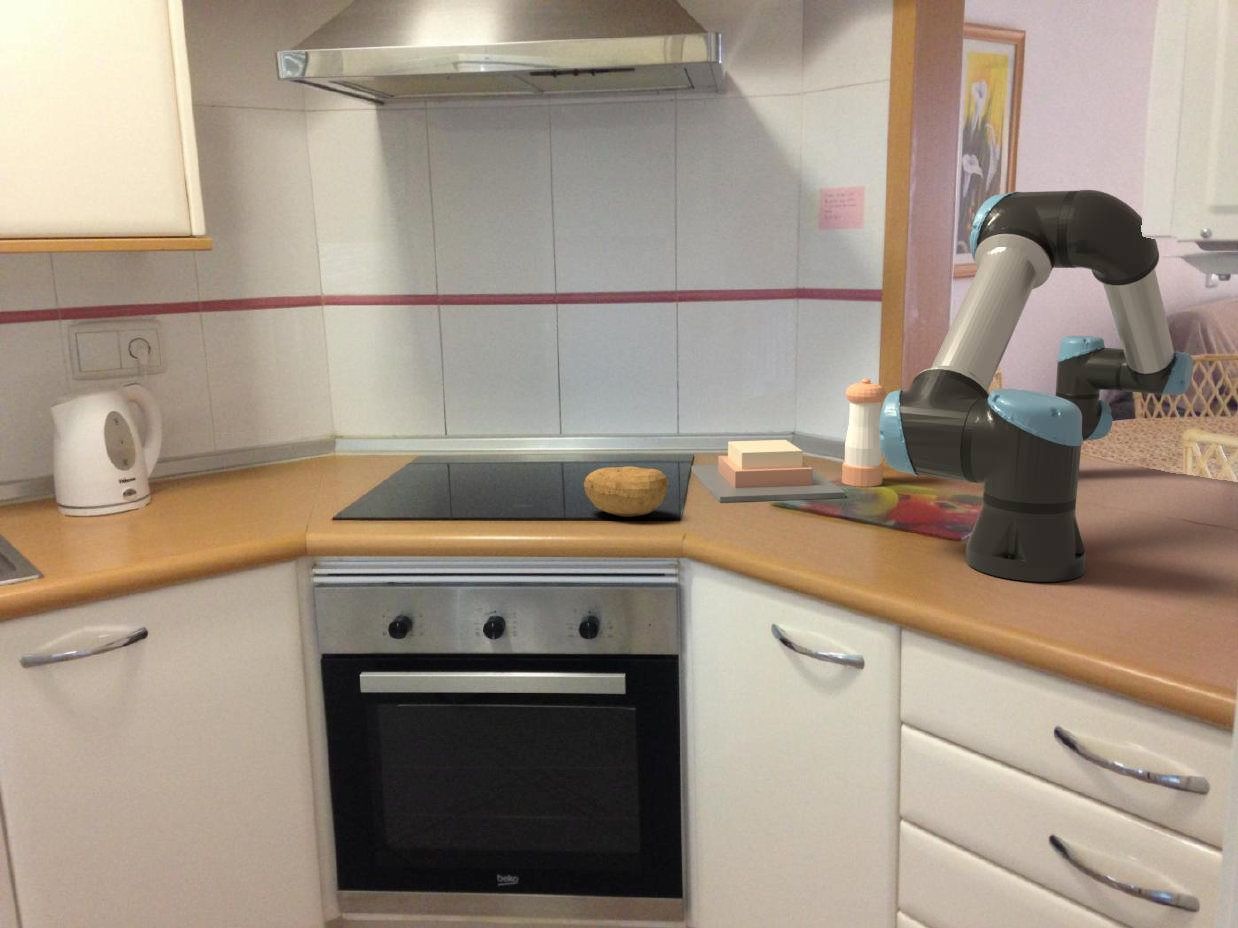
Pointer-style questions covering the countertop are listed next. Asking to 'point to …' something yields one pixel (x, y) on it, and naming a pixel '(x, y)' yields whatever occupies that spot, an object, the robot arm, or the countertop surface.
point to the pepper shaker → (863, 436)
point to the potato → (626, 490)
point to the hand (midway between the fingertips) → (915, 426)
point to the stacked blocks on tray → (764, 474)
